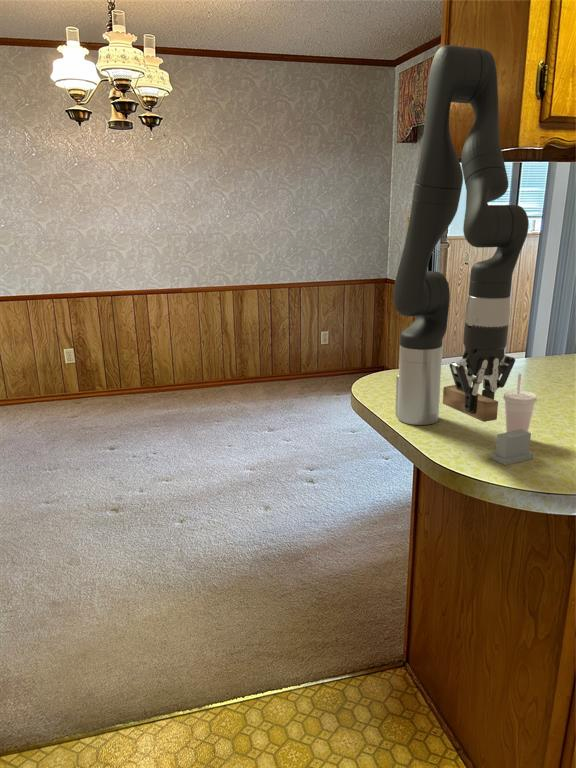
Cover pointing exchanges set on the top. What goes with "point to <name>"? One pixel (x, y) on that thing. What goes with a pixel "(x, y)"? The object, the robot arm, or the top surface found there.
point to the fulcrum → (512, 447)
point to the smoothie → (518, 408)
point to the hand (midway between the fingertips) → (478, 410)
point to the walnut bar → (457, 401)
